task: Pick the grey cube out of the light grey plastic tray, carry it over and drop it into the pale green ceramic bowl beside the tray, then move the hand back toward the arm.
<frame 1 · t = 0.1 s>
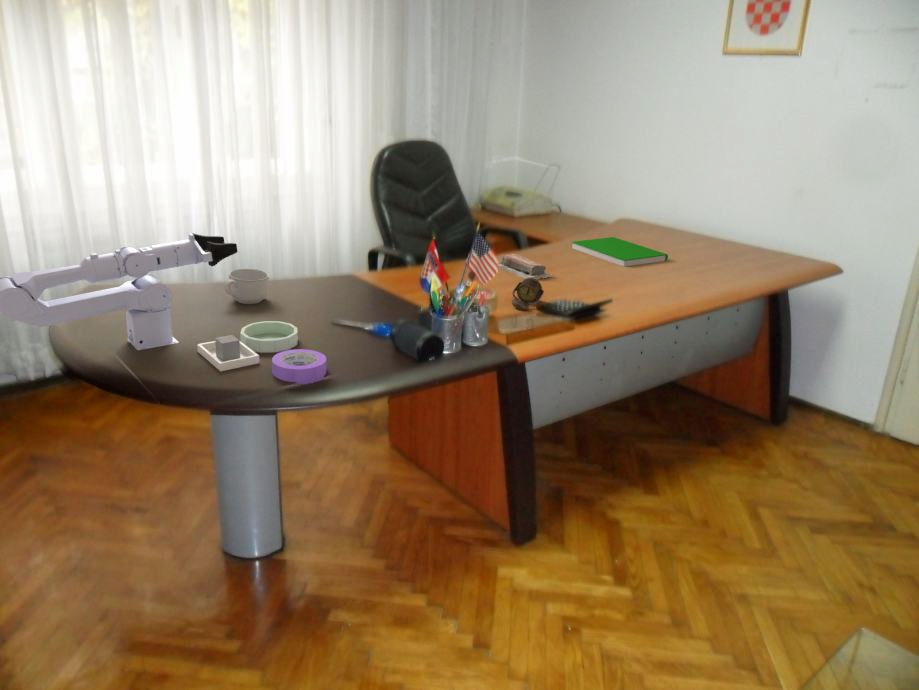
hand: (230, 244, 182), 22 cm above the table, fingers open, 7 cm apart
book: (618, 256, 285), on the table
packaged product: (523, 273, 254), on the table
brown desk clock: (523, 304, 222), on the table
bowl: (269, 344, 181), on the table
teacup: (245, 302, 209), on the table
masking tape: (299, 375, 167), on the table
parts tray: (228, 359, 171), on the table
grey cube: (228, 357, 171), point 1 cm above the table, touching parts tray
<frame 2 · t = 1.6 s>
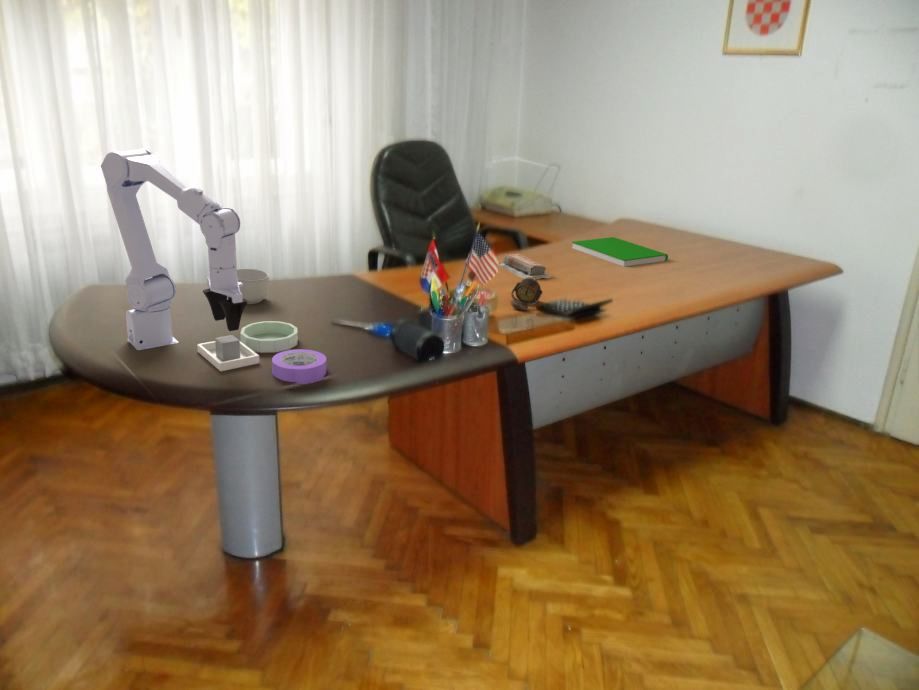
hand: (226, 324, 168), 8 cm above the table, fingers open, 7 cm apart
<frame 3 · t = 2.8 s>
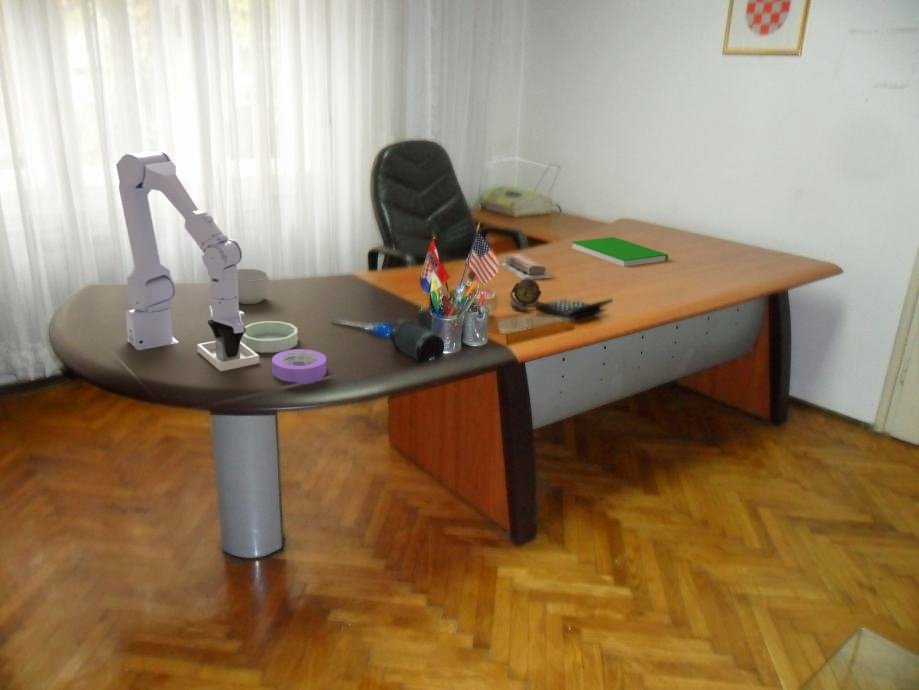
hand: (228, 353, 171), 2 cm above the table, fingers closed on grey cube, 4 cm apart
grey cube: (228, 357, 171), point 1 cm above the table, touching gripper, parts tray
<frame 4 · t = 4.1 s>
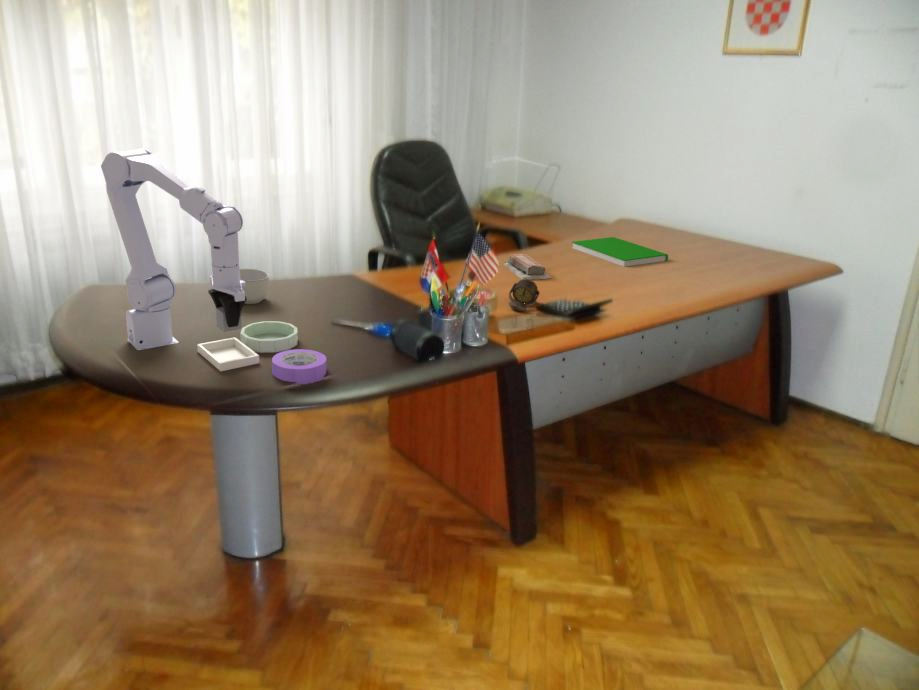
hand: (228, 323, 169), 9 cm above the table, fingers closed on grey cube, 4 cm apart
grey cube: (229, 327, 169), point 8 cm above the table, touching gripper
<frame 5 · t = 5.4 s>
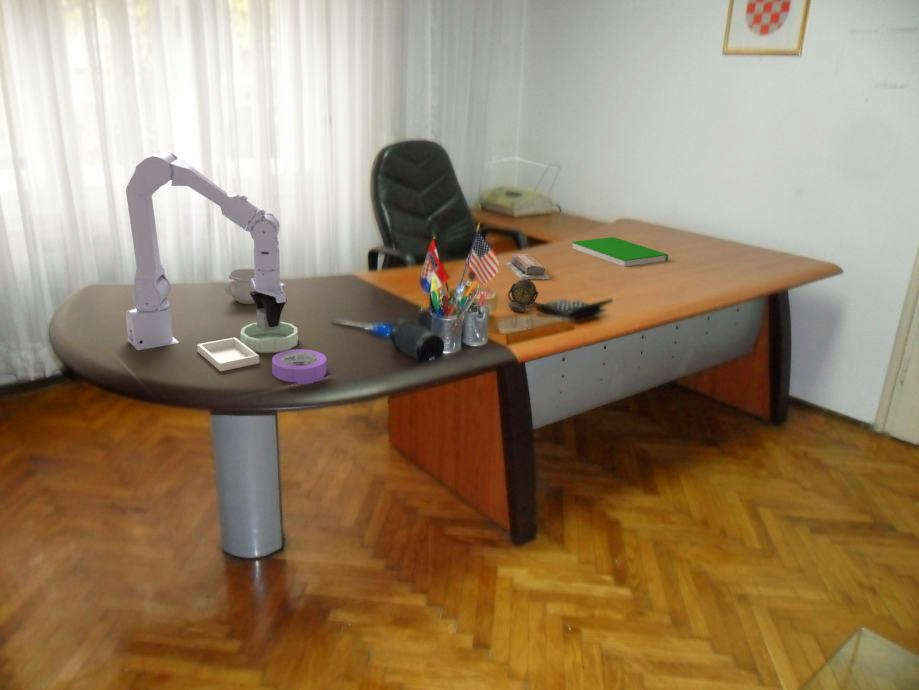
hand: (269, 323, 180), 5 cm above the table, fingers closed on grey cube, 4 cm apart
grey cube: (268, 327, 180), point 4 cm above the table, touching gripper
when the fingers open (4 cm above the table, at t = 6.0 s): grey cube drops 3 cm, resting on bowl.
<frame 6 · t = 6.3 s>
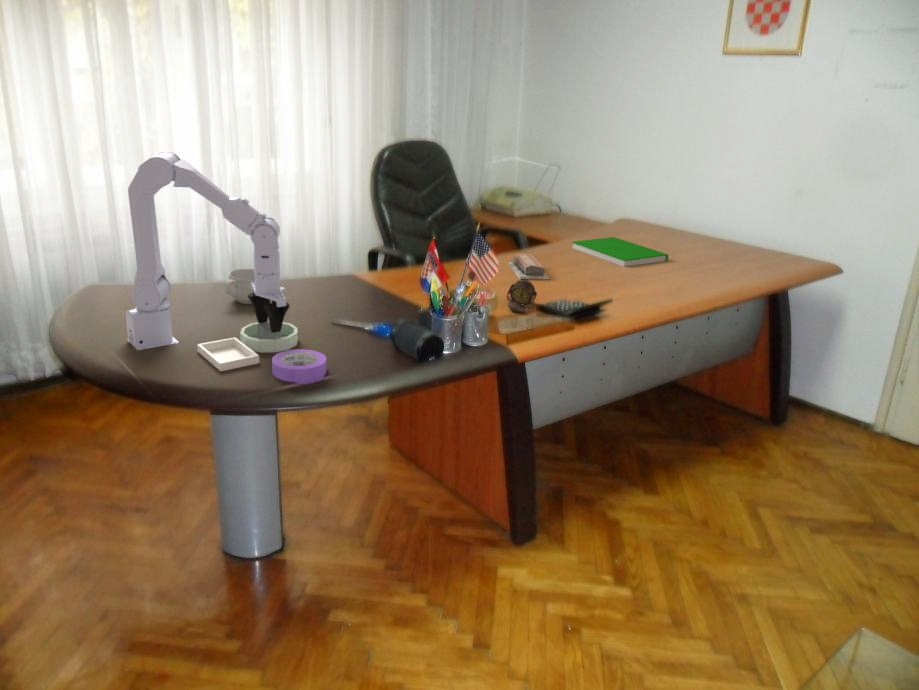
hand: (269, 327, 180), 4 cm above the table, fingers open, 7 cm apart
grey cube: (269, 342, 181), point 1 cm above the table, touching bowl
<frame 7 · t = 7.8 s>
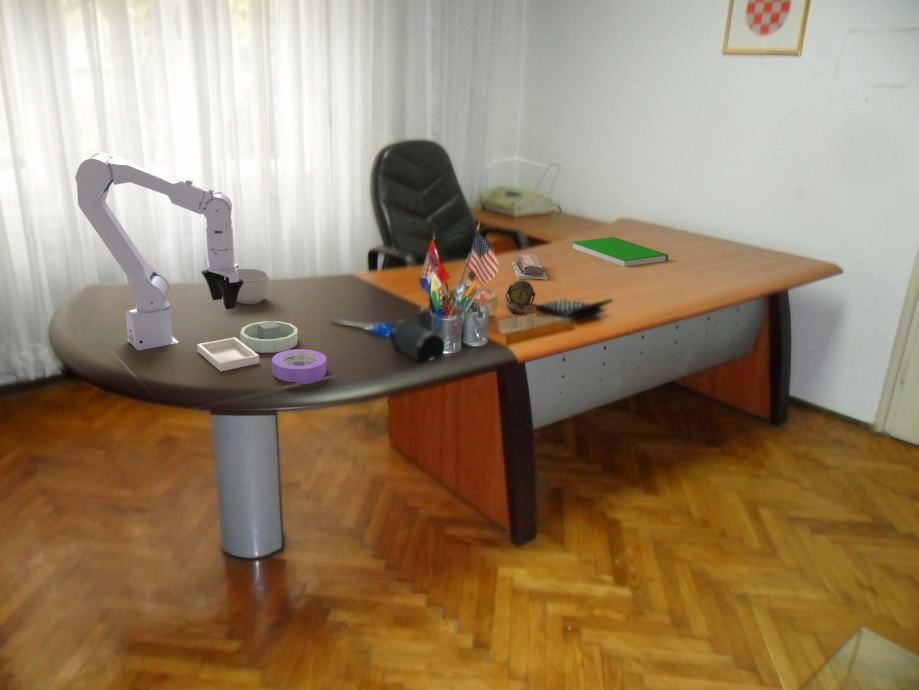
hand: (223, 303, 178), 9 cm above the table, fingers open, 7 cm apart
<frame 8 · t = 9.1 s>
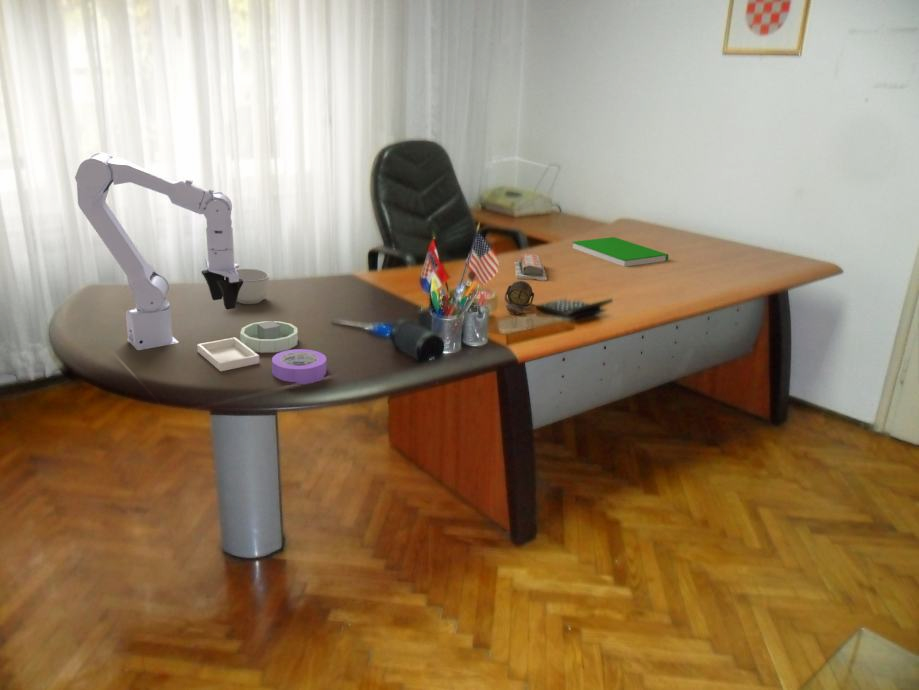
hand: (223, 303, 178), 9 cm above the table, fingers open, 7 cm apart
at the end: grey cube inside the target area on the bowl (0.1 cm from its centre), point 0.6 cm above the bowl's base; grey cube touching bowl; the gripper is holding nothing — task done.
